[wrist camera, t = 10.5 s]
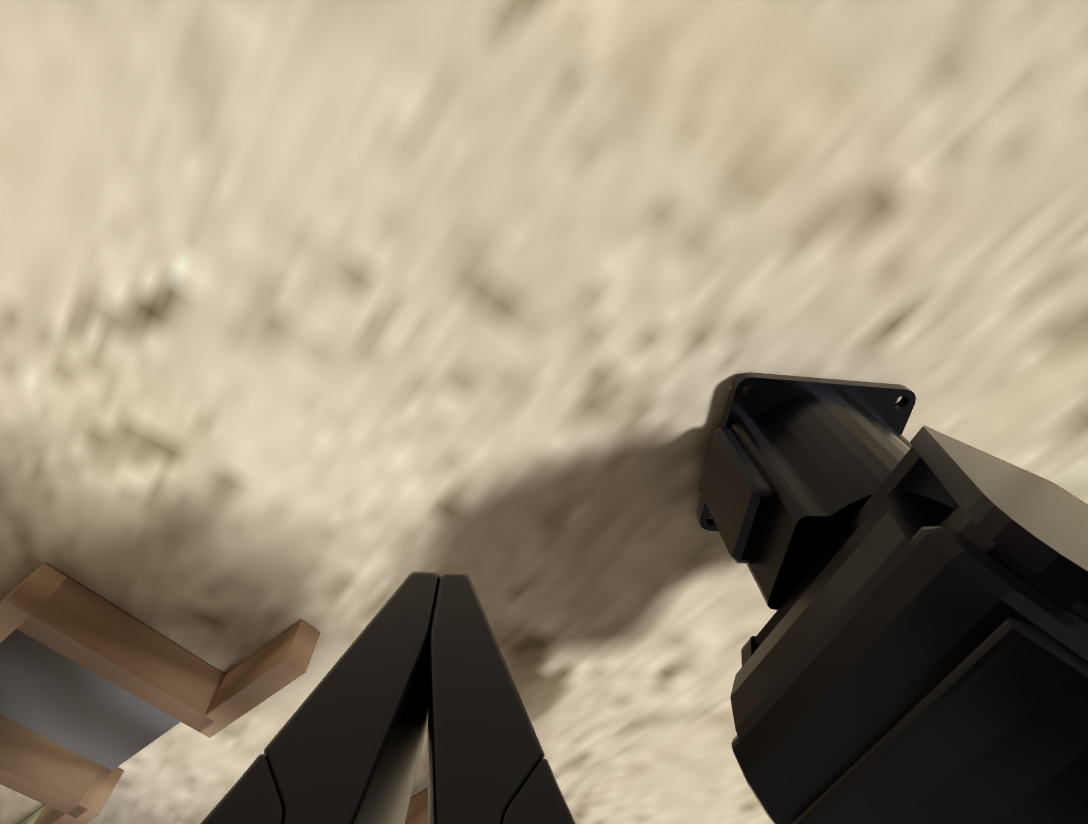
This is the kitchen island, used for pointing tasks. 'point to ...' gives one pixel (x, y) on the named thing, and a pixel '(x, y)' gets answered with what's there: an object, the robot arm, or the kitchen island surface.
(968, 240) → the kitchen island surface
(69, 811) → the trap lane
